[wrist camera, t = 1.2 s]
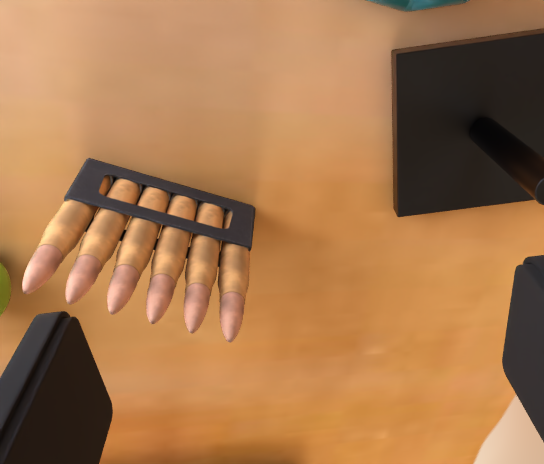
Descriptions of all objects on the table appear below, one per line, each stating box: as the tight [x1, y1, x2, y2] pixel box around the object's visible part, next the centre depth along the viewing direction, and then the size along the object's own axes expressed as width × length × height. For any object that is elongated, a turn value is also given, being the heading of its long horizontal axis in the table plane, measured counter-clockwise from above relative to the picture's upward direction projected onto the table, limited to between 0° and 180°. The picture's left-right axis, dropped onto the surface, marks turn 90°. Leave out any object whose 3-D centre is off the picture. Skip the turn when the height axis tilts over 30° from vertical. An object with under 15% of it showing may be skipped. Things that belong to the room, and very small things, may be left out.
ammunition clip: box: [22, 158, 255, 342], centre depth 27 cm, size 11×2×12 cm, turn 71°
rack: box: [391, 29, 544, 217], centre depth 27 cm, size 10×10×9 cm
